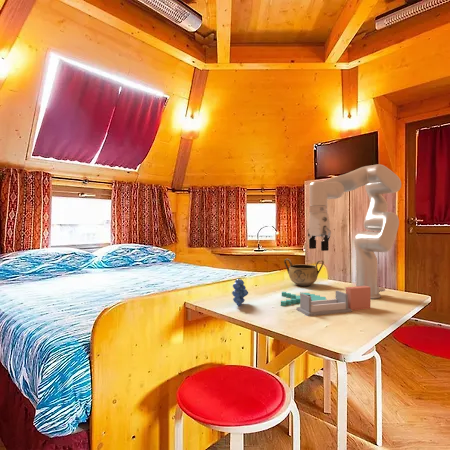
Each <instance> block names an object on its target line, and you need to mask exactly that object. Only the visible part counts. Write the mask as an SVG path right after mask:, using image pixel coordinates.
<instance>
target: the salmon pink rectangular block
mask: <svg viewBox="0 0 450 450" xmlns="http://www.w3.org/2000/svg"><path fill="white" fill-rule="evenodd" d="M345 293H346V294H348V308H350V309H352V311H358V310H365V309H366V310H367V309H369V310H370V309H371V301H372V300H371V287H368V286H356V285H355V286H346V287H345Z"/></svg>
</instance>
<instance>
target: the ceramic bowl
mask: <svg viewBox="0 0 450 450" xmlns="http://www.w3.org/2000/svg"><path fill="white" fill-rule="evenodd" d="M287 262H288V263H289V266H288V263H287ZM320 262H321V264H320V267H319V269H318V265H319V263H320ZM283 263H284V266H285V267H286V271H287V273H288V276H289V279H290V280H291V282H292V283H294V284H295V285H296V286H301V287H309V286H311V285H313V284H314V283H315V282H317V279H318V276H319V274H320V272H321V270H322V268H323V267H324V263H325V262H324V259H318V261H317V262H316V263H315V265H313V264H302V263H300V264H298V263H296V264H293V262H292V260H291V259H290V258H285V259H284V260H283Z"/></svg>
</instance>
